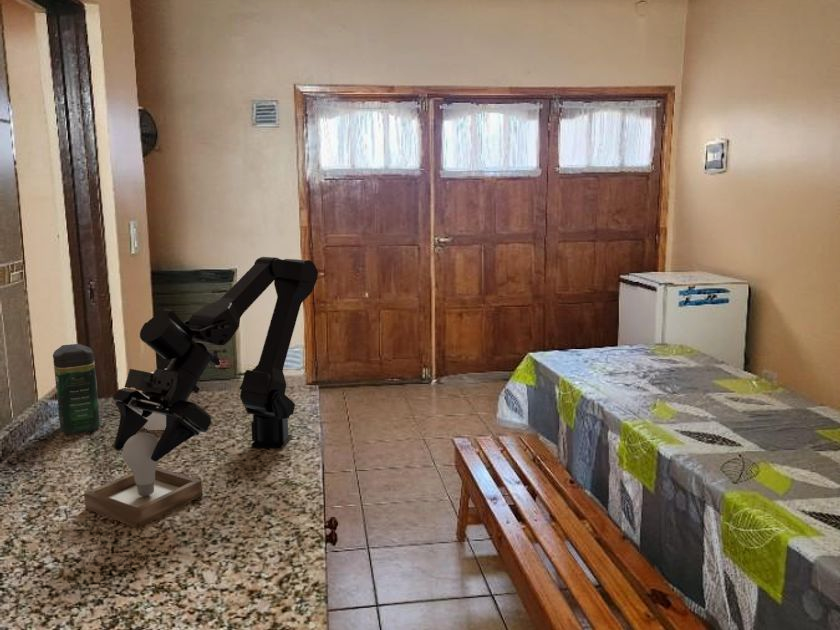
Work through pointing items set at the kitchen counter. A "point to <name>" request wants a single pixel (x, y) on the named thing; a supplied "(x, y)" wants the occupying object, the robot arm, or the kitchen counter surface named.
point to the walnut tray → (138, 510)
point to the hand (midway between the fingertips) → (134, 454)
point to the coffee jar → (76, 389)
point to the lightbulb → (141, 461)
